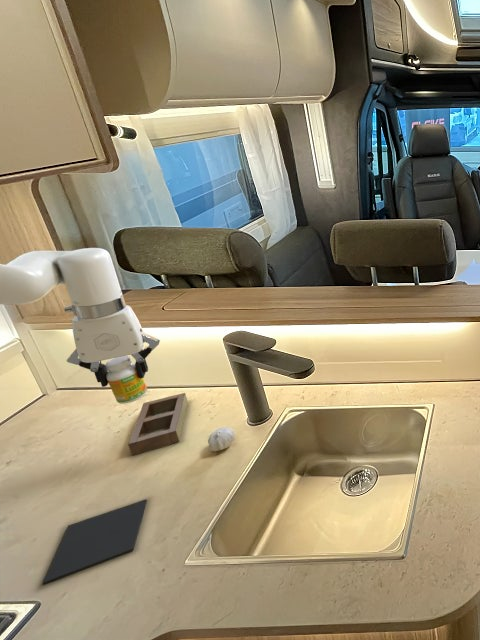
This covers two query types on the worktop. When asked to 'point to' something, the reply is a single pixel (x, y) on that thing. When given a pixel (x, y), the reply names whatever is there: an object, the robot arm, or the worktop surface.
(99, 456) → the worktop surface
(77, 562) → the mat
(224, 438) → the garlic
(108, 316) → the robot arm
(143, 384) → the supplement bottle
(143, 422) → the stand
